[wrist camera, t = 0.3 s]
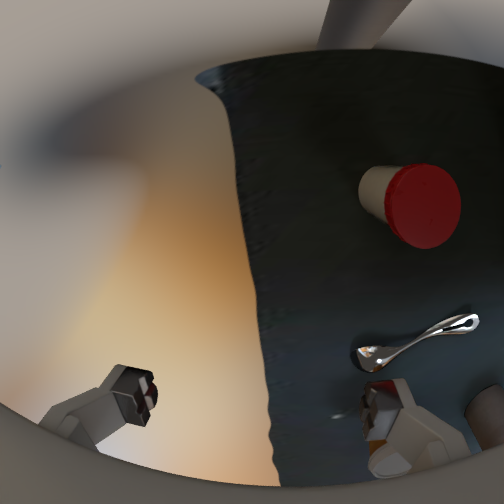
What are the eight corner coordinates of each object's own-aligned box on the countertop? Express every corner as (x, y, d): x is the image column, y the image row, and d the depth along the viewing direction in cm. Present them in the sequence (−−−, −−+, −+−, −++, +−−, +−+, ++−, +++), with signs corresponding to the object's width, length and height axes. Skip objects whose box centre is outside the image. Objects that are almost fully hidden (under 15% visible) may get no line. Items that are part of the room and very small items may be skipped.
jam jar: (361, 160, 29) (398, 160, 19) (410, 170, 29) (460, 177, 18) (354, 214, 31) (386, 238, 21) (402, 222, 30) (447, 248, 20)
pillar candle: (475, 421, 39) (499, 469, 25) (456, 413, 39) (483, 468, 24) (506, 389, 37) (537, 434, 22) (491, 377, 36) (526, 429, 22)
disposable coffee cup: (379, 430, 41) (392, 483, 29) (345, 413, 40) (355, 473, 28) (421, 398, 38) (444, 450, 26) (390, 377, 37) (414, 436, 25)
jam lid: (388, 155, 20) (397, 155, 18) (455, 173, 20) (466, 174, 18) (376, 237, 22) (384, 243, 20) (441, 247, 22) (452, 254, 20)
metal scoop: (487, 314, 28) (483, 341, 30) (475, 302, 32) (473, 328, 33) (350, 356, 33) (354, 382, 34) (347, 340, 36) (351, 365, 38)
